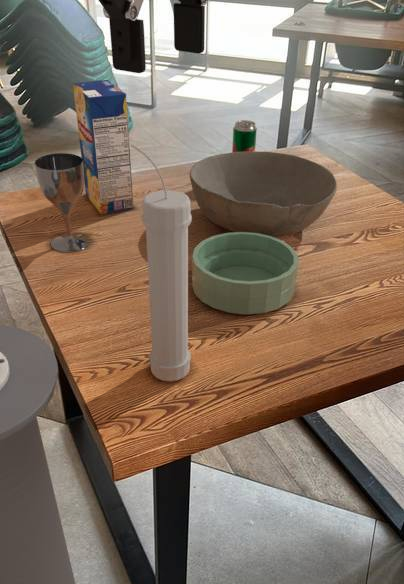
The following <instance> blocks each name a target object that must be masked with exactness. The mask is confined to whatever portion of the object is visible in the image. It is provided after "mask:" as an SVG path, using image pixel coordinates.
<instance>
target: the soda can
mask: <svg viewBox="0 0 404 584" xmlns="http://www.w3.org/2000/svg"><path fill="white" fill-rule="evenodd" d="M232 129H233V130H232V145H231V146H232V147H231V149H232V151H231V153H232V152H247V151H256V143H257V132H258V131H257V127H256V122H254V121H252V120H245V119H244V120H243V119H242V120H238V121H235V123H234V126H233V128H232Z"/></svg>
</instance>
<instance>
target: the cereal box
mask: <svg viewBox="0 0 404 584" xmlns="http://www.w3.org/2000/svg"><path fill="white" fill-rule="evenodd" d="M72 88H73V96H74V106H75V112H76V121H77V129H78V130H77V131H78V138H79V139H78V140H79V146H80V147H79V148H80V157H81V158H82V159H83V165H84V191H85V195H86V196H87V198H88V199H89V200H90V202H91V203H92V205H93V206H94V207H95V209H96V210H97V211H98V213H99V214H100V215H106V214H112V213H118V212H124V211H129V210H133V209H134V197H133V182H132V181H133V180H132V165H131V150H130V147H131V146H130V133H129V119H128V117H129V115H128V106H127V105H128V103H127V102H128V101H127V93H126V92H125V91H123V90H122V89H121V88H119V87H117V86H116V85H115V84H114V83H112V82H111V81H110V80H108V79H103V80H93V81H82V82H72Z"/></svg>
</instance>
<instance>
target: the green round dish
mask: <svg viewBox="0 0 404 584" xmlns="http://www.w3.org/2000/svg"><path fill="white" fill-rule="evenodd" d="M192 251H193V252H192V254H191V287H192V290H193V292H194V293H193V294H194V295H195V296H196V297H197V298H198V299H199V300H200V301H201V302H202V303H204V304H206V305H207V306H209V307H211V308H213V309H215V310H218V311H222V312H225V313H226V312H227V313H230V314H238V315H256V314H257V315H258V314H265V313H269V312H272V311H275V310H279V309H280V308H282V307H283V306H285V305H287V304H289V302H290V301H291V300H292V298H293V297H294V295H295V291H296V284H297V277H298V271H299V255H298V253H297V252H296V250H295V249H294V248H293V247H292V246H291V245H289V244H288V243H287V242H286V241H284V240H282V239H280V238H278V237H272V236H268V235H263V234H259V233H250V232H234V231H231V232H224V233H220V234H216V235H212V236H210V237H208V238H205V239H203V240H201V241H200V242H199V243H198V244H197V245H196V246H195V247H194V248H193V250H192Z"/></svg>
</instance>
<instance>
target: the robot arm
mask: <svg viewBox="0 0 404 584" xmlns="http://www.w3.org/2000/svg"><path fill="white" fill-rule="evenodd" d="M177 1H178V2H174V3H173V46H174V50H176V52H177V51H178V52H184V53H192V54H199V55H200V54H202V53H204V52H205V27H206V26H205V25H206V24H205V22H206V21H205V20H206V5H207V3H208V1H209V0H177ZM98 2H99V3H100V5H101V6H102V12H103V15H104V17H105V18H107V19H108V20H109V34H110V46H111V57H112V66H113V68H114V69H115V70H117V71H122V72H128V73H135V74H142V73H144V72H145V71H146V68H147V65H146V64H147V63H146V43H145V41H146V40H145V24H144V19H140V18H139V15H140V11H141V8H142V6H143V3H144V0H98ZM9 375H10V368H9V365H8V361H7V359H6V357H5V356H4V355H3V354H2V353H1V352H0V390H1V389H2V388H3V387H4V386H5V384H6V382H7V381H8V378H9Z"/></svg>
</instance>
